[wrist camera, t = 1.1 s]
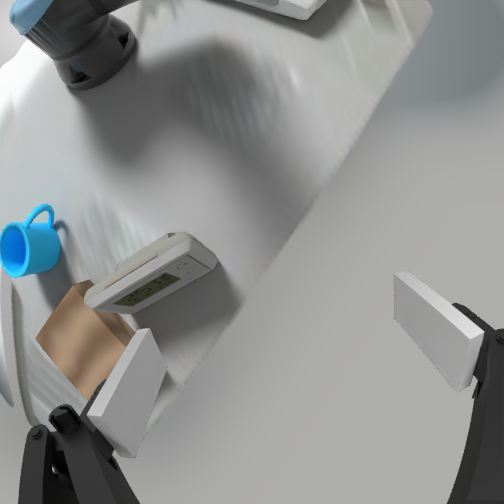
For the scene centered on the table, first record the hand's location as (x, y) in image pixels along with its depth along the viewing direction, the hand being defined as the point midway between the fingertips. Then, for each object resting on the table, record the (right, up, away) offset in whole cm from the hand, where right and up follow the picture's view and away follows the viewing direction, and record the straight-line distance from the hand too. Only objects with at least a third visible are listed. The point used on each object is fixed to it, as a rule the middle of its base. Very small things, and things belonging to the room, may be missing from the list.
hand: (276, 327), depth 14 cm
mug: (-35, +6, +25) cm, 44 cm away
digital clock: (-14, +1, +26) cm, 29 cm away
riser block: (-26, -11, +26) cm, 38 cm away
